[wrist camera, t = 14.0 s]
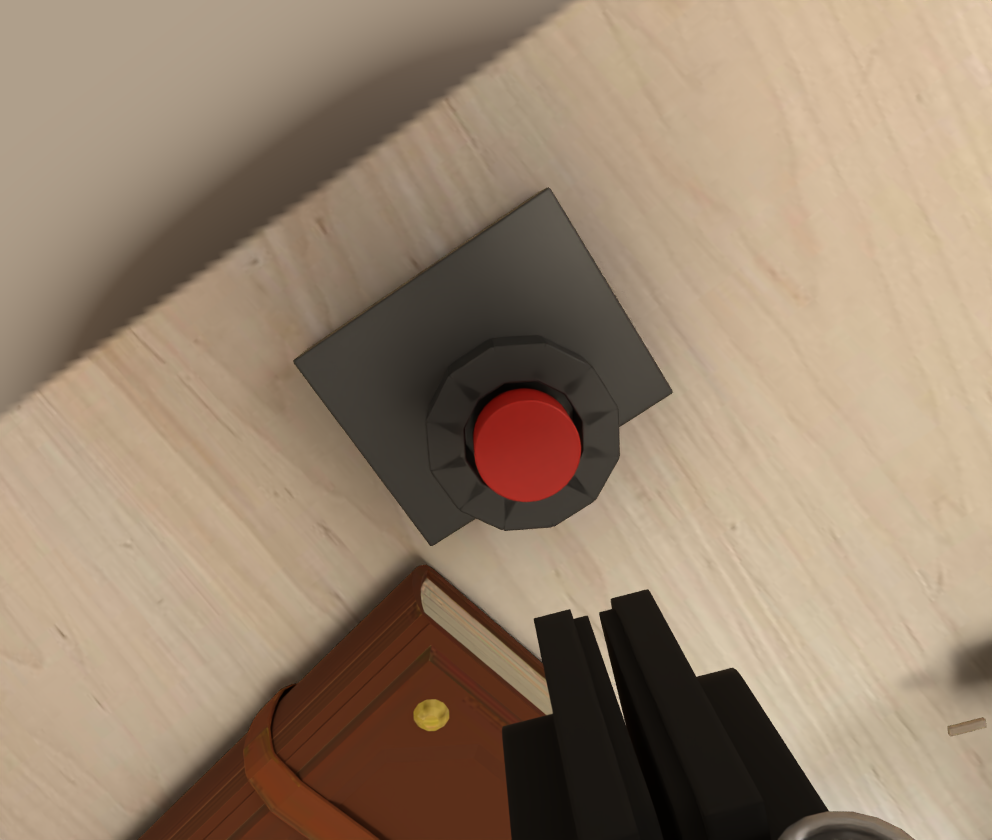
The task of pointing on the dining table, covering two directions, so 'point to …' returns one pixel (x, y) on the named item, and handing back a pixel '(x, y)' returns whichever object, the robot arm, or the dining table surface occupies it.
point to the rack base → (967, 726)
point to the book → (379, 734)
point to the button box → (487, 369)
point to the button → (525, 445)
